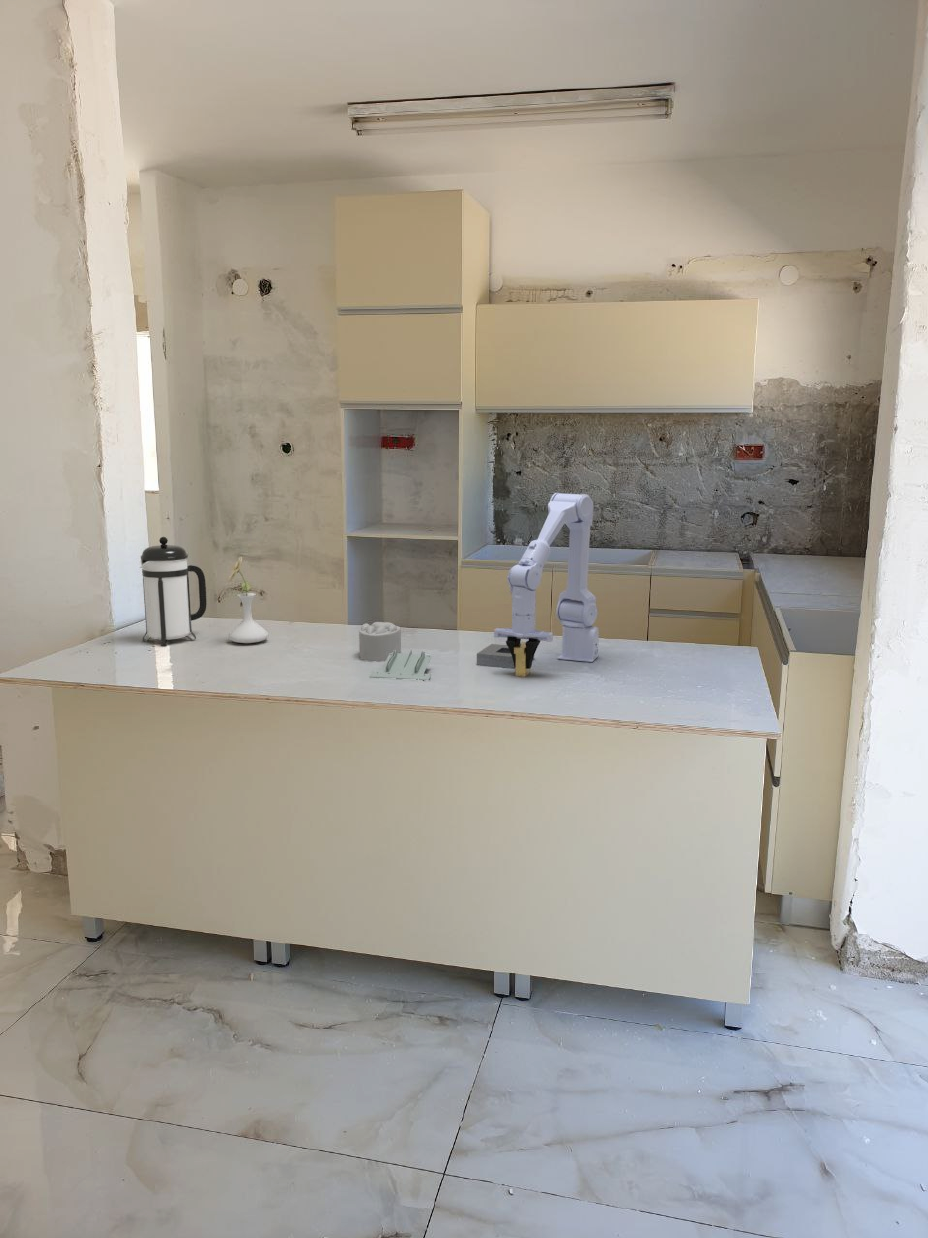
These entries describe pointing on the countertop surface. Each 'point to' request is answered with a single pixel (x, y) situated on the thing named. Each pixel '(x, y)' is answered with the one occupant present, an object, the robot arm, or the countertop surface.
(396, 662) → the metal bracket
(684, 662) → the countertop surface
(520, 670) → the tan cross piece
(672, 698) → the countertop surface
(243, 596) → the flower in vase
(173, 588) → the coffee press
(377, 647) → the lumpy-topped squat cylinder
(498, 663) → the metal plate with slot
